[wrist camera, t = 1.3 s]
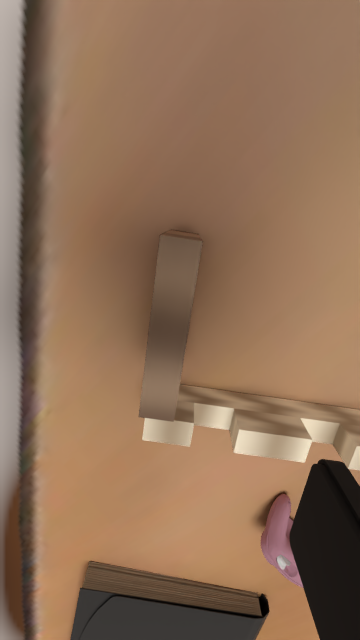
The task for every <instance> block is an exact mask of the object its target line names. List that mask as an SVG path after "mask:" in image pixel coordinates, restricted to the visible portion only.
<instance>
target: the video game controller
mask: <svg viewBox="0 0 360 640" xmlns="http://www.w3.org/2000/svg"><path fill="white" fill-rule="evenodd" d="M290 512H291V503H290V499H289V497H288V496H287V495H286V494H281V495H280V496H278V497H277V498H276V500H275V501H274V503H273V504H272V506H271V509H270V511H269V514H268V517H267V522H266V527H265V531H264V532H263V533H262V536H261V549H262V552H263V554H264V556H265V558H266V560H267V561H268V562H269V563H270V564H271V565H273V566H275V567H276V568H277V569H278V571H279V572H280V573H281V574H282V575H283V576H285V577H286V578H287V579H288V580H290V581H291V582H293V583H294V584H296V585H298V586H300V587H303V584H302V581H301V578H300V575H299V572H298V569H297V566H296V562H295V559H294V556H293V553H292V550H291V546H290V539H289V536H290V530H291V527H292V524H293V521H292V520H291V519H290V518H289V517H290Z"/></svg>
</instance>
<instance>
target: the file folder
mask: <svg viewBox="0 0 360 640" xmlns="http://www.w3.org/2000/svg"><path fill="white" fill-rule="evenodd" d="M268 613H269V605H268V600H267V599H266V598H265V596H264V595H263V594H262V595H261V597H260V599H259V600H258V596H257V593H255V592H250V591H243V590H237V589H231V588H226V587H221V586H216V585H211V584H206V583H201V582H196V581H191V580H186V579H181V578H177V577H172V576H167V575H162V574H157V573H151V572H146V571H140V570H135V569H129V568H123V567H118V566H112V565H107V564H101V563H96V562H89V566H88V569H87V573H86V576H85V580H84V583H83V587H82V588H80V592H79V598H78V603H77V608H76V613H75V619H74V624H73V629H72V634H71V640H255V639H256V637H257V635H258V633H259V631H260V629H261V627H262V625H263V623H264V621H265V619H266V617H267V615H268Z"/></svg>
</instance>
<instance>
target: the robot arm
mask: <svg viewBox="0 0 360 640" xmlns="http://www.w3.org/2000/svg"><path fill="white" fill-rule="evenodd" d="M289 539H290V546H291V550H292V553H293V556H294V559H295V562H296V566H297V569H298V572H299V575H300V578H301V581H302V584H303V588H304V591H305V594H306V597H307V600H308V603H309V606H310V610H311V613H312V616H313V619H314V622H315V625H316V629H317V632H318V635H319V638H320V640H360V486H359V485H358V483H357V482H356V480H355V479H354V477H353V476H352V474H351V472H350V471H349V469H348V468H347V466H346V465H345V464H344V463H343V462H340V461H332V460H325V459H321V460H319V461H318V463H317V464H313V465H312V467H311V470H310V473H309V476H308V479H307V482H306V485H305V488H304V491H303V494H302V497H301V500H300V503H299V506H298V509H297V512H296V515H295V518H294V521H293V524H292V527H291V530H290V536H289Z"/></svg>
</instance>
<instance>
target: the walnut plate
mask: <svg viewBox="0 0 360 640" xmlns="http://www.w3.org/2000/svg"><path fill="white" fill-rule="evenodd" d="M202 243H203V241H202V239H201V238H200V236H199V235H198V234H195V233H188V232H181V231H174V230H170V231H167V232H165V233H163V234H161V235H160V240H159V249H158V257H157V266H156V274H155V282H154V291H153V299H152V308H151V316H150V325H149V333H148V342H147V350H146V359H145V367H144V376H143V384H142V393H141V401H140V410H139V417H142V418H149V419H157V420H164V421H171V422H174V417H175V411H176V405H177V398H178V392H179V386H180V380H181V374H182V367H183V361H184V355H185V349H186V343H187V336H188V330H189V324H190V318H191V312H192V305H193V299H194V293H195V287H196V281H197V274H198V268H199V262H200V256H201V250H202Z"/></svg>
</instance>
